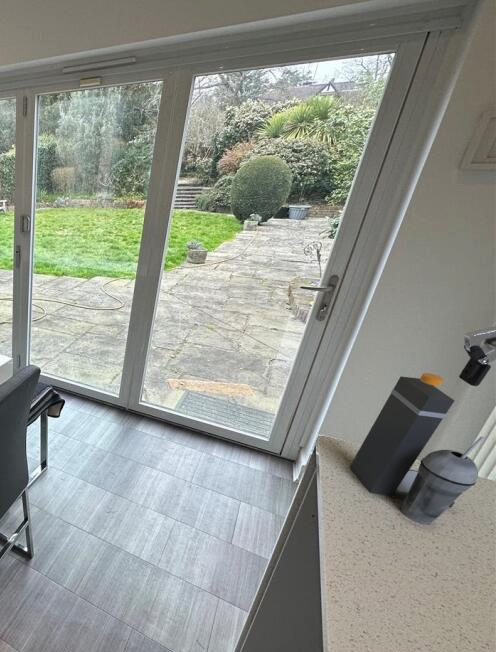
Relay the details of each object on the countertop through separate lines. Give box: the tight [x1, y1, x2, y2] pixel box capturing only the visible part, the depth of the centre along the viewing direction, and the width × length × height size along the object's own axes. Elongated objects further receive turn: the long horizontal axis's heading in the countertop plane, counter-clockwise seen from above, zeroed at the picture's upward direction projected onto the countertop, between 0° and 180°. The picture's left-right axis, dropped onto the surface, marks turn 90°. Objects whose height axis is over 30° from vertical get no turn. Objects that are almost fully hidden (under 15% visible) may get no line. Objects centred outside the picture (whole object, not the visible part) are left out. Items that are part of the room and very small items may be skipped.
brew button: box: [419, 372, 444, 387], centre depth 77 cm, size 3×3×1 cm
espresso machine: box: [349, 376, 455, 508], centre depth 83 cm, size 14×9×24 cm, turn 77°
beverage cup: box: [400, 435, 485, 526], centre depth 76 cm, size 7×7×20 cm
